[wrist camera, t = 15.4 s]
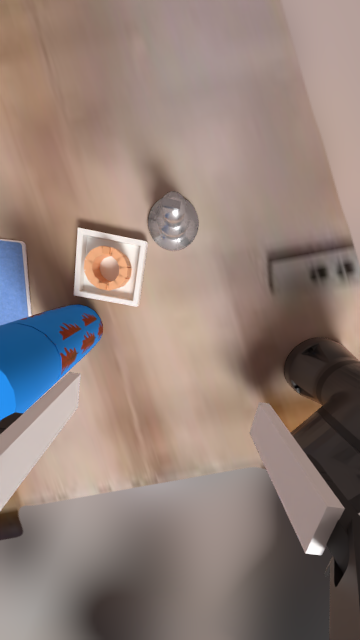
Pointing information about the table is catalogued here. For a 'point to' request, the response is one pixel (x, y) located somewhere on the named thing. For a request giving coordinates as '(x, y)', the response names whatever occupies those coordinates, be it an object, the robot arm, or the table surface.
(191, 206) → the grey stepped cylinder
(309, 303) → the table surface
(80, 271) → the tray
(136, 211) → the table surface
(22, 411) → the thermos
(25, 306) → the tablet computer
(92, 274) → the ring
